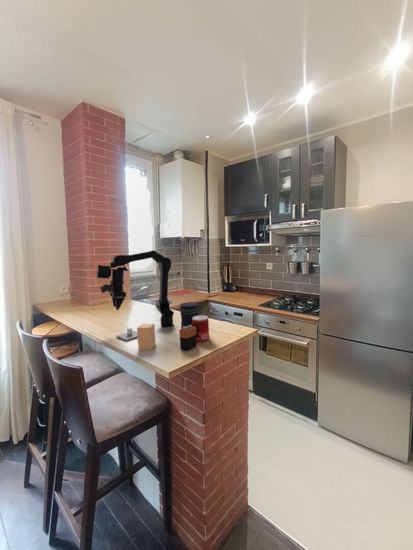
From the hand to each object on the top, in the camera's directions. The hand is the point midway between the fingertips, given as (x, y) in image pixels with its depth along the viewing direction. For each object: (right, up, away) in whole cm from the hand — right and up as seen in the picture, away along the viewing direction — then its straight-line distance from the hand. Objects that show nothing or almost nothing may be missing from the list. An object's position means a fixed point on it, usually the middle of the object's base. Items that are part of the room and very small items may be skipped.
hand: (115, 308), depth 137 cm
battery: (+40, -15, -22) cm, 48 cm away
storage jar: (+40, -13, +1) cm, 41 cm away
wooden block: (+21, -15, -19) cm, 32 cm away
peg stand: (+8, -14, -3) cm, 17 cm away
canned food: (+45, -14, -12) cm, 49 cm away
